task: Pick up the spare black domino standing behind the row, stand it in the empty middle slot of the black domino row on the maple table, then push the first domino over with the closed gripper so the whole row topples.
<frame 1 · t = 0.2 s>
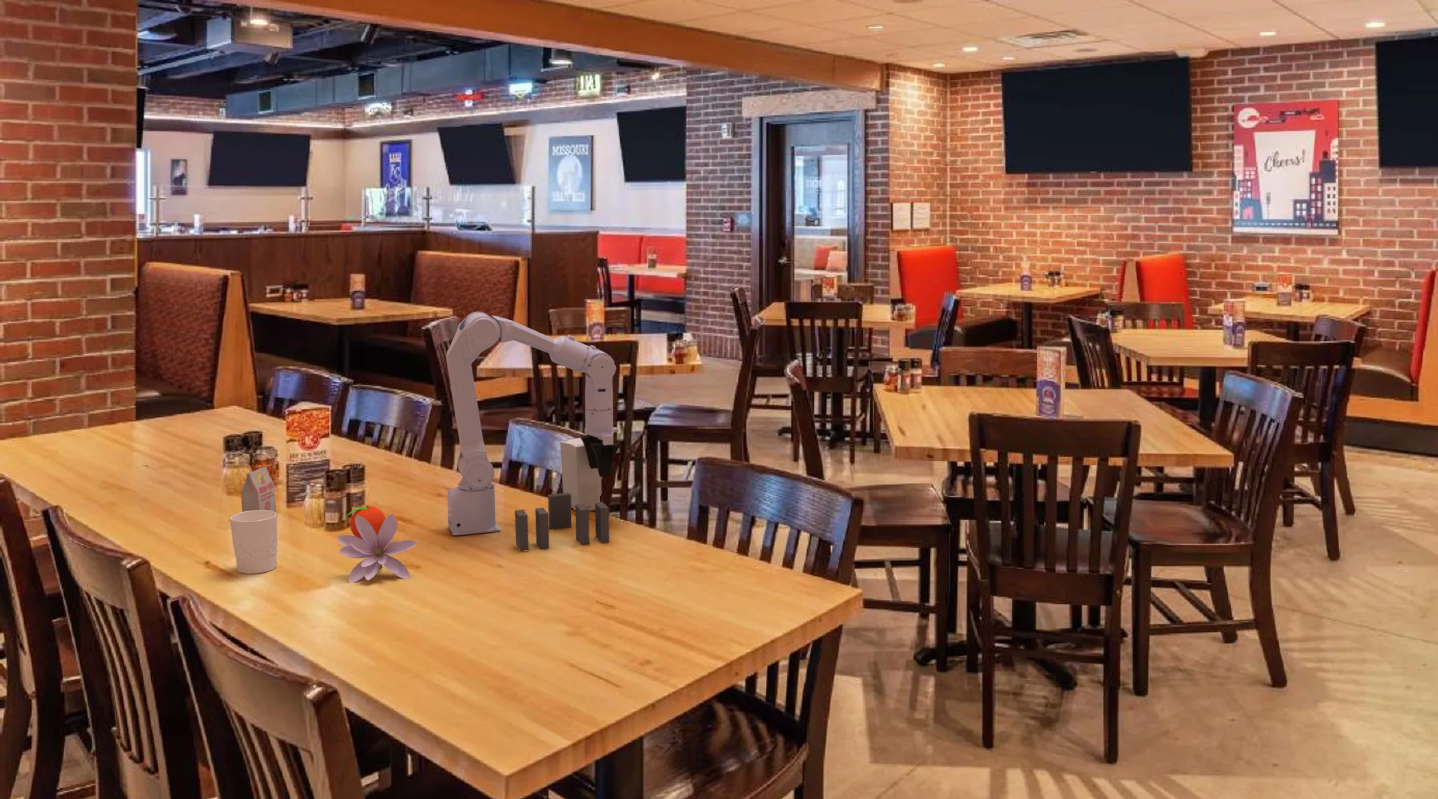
hand: (599, 472, 246), 10 cm above the table, tool pointing down, fingers open, 7 cm apart
tile 2: (542, 545, 229), on the table
tile 4: (582, 541, 232), on the table
tile 1: (522, 547, 228), on the table
tile 5: (602, 539, 233), on the table
water lily: (375, 577, 211), on the table
white cup: (257, 569, 215), on the table
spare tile: (560, 527, 241), on the table
skincare box: (581, 508, 257), on the table
tomato: (366, 542, 232), on the table
milk carton: (259, 516, 250), on the table
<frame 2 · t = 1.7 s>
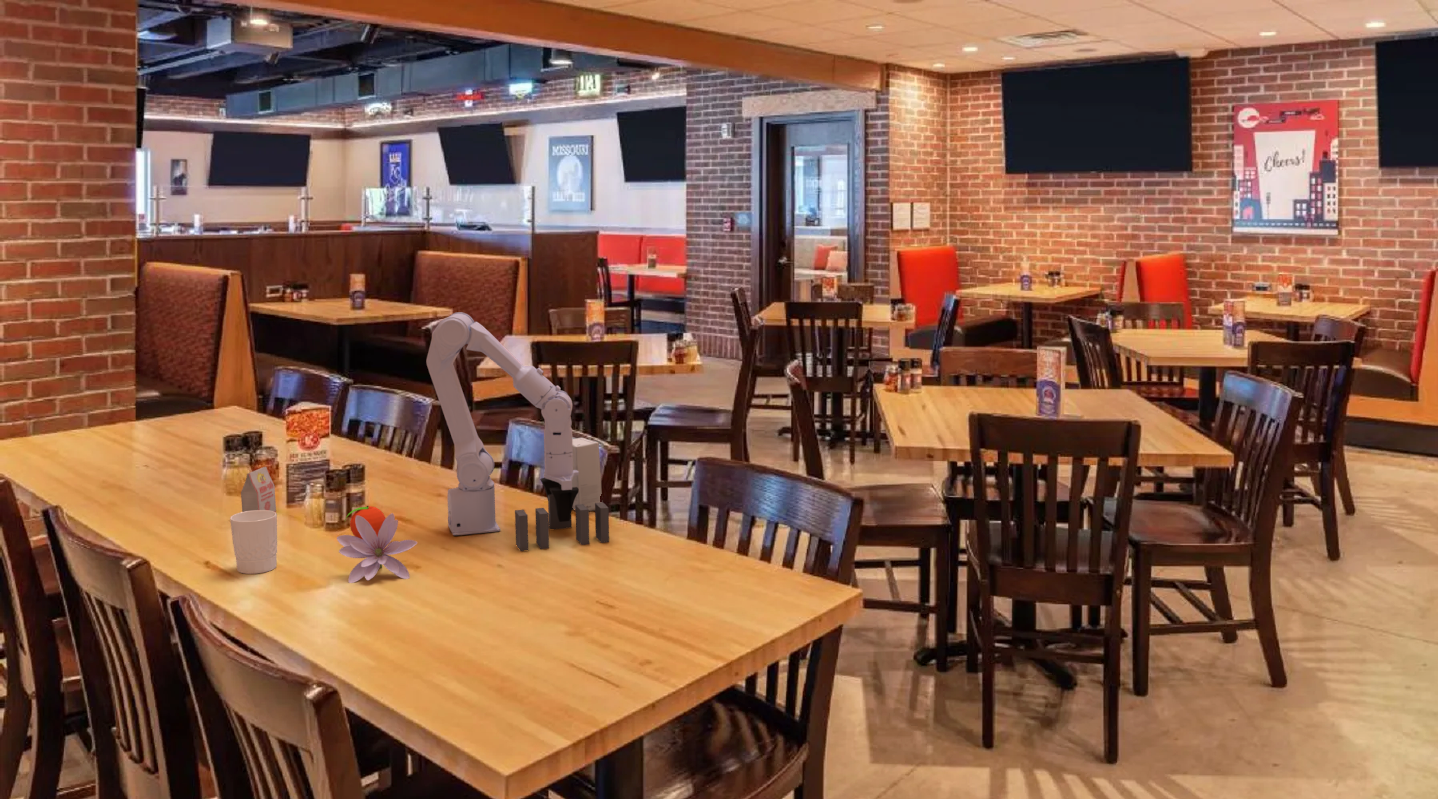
hand: (559, 516, 241), 2 cm above the table, tool pointing down, fingers open, 7 cm apart
nothing on the table moved.
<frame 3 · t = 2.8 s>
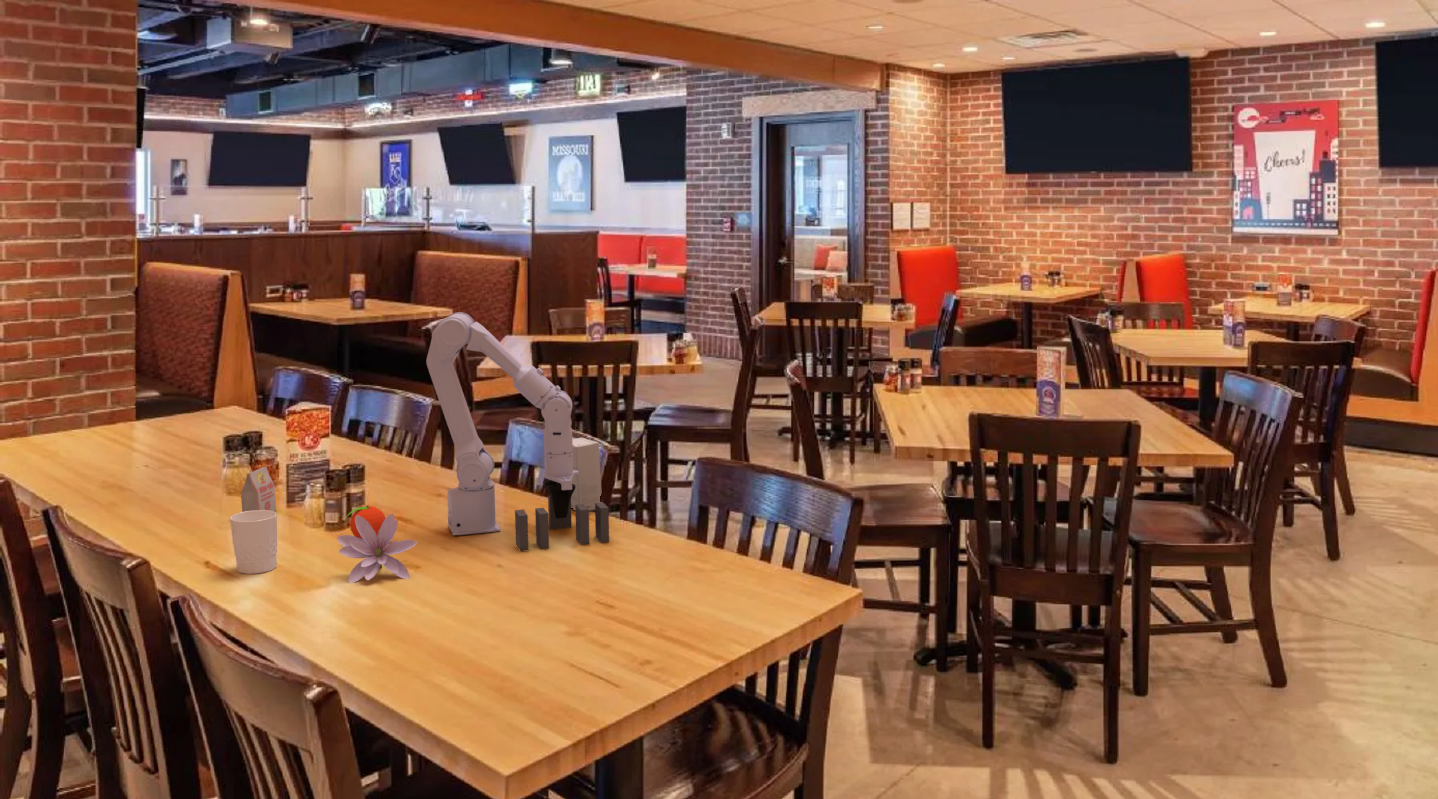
hand: (559, 516, 241), 2 cm above the table, tool pointing down, fingers closed on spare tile, 2 cm apart
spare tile: (560, 527, 241), on the table, touching gripper
everything else where it was.
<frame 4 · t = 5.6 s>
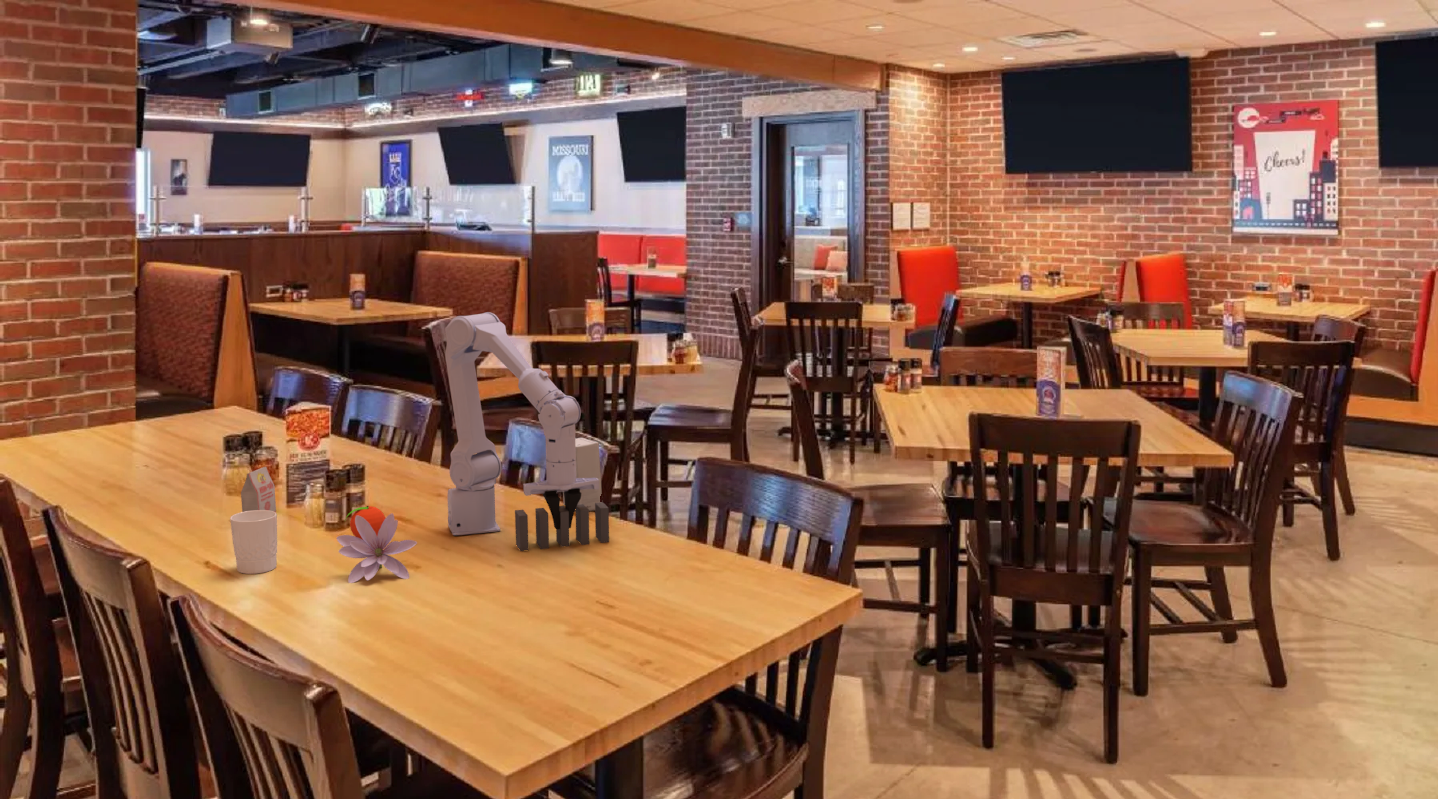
hand: (562, 527, 230), 3 cm above the table, tool pointing down, fingers closed on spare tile, 2 cm apart
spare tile: (562, 543, 230), on the table, touching gripper
everything else where it was.
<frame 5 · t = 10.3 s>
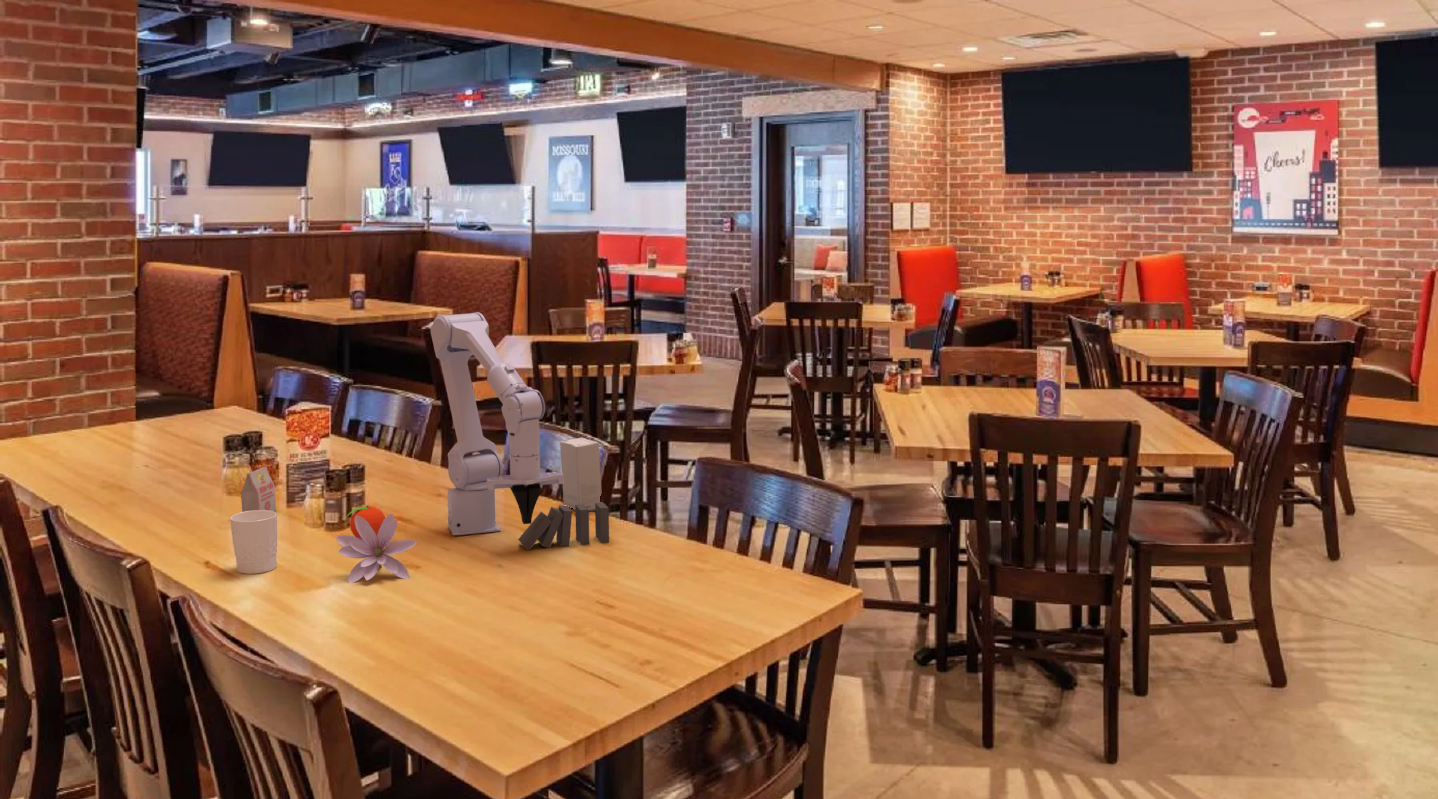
hand: (526, 522, 227), 5 cm above the table, tool pointing down, fingers closed
tile 2: (543, 543, 229), on the table, tilted 25°
tile 1: (523, 544, 228), point 1 cm above the table, tilted 42°
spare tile: (562, 543, 230), on the table, tilted 6°
everything else where it was.
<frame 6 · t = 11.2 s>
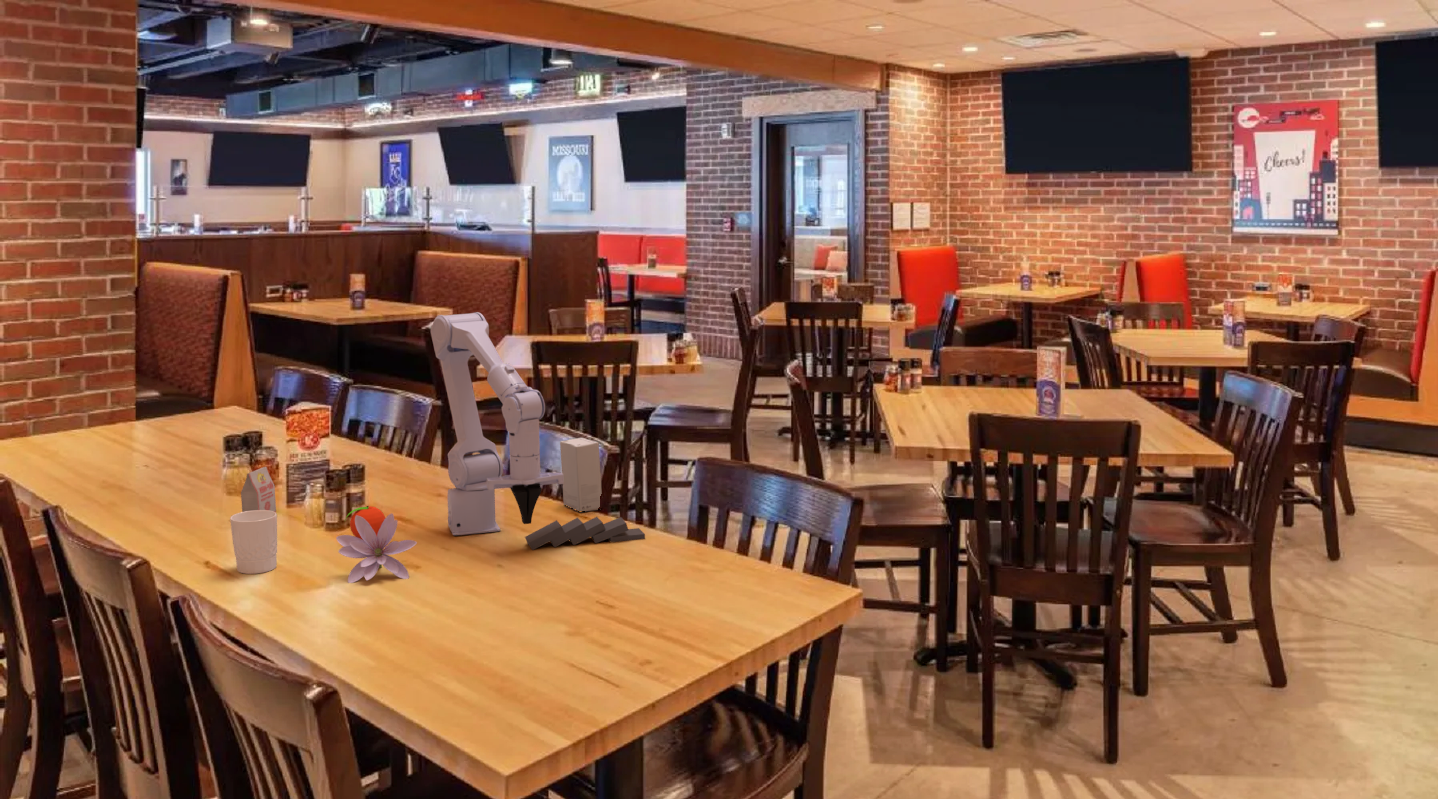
hand: (526, 522, 227), 5 cm above the table, tool pointing down, fingers closed
tile 2: (550, 540, 229), point 1 cm above the table, tilted 66°, touching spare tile, tile 1
tile 4: (591, 536, 232), point 1 cm above the table, tilted 72°, touching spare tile, tile 5
tile 1: (528, 543, 228), point 1 cm above the table, tilted 67°, touching tile 2
tile 5: (607, 538, 233), on the table, tilted 90°, touching tile 4
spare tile: (569, 538, 231), point 1 cm above the table, tilted 68°, touching tile 2, tile 4
everything else where it was.
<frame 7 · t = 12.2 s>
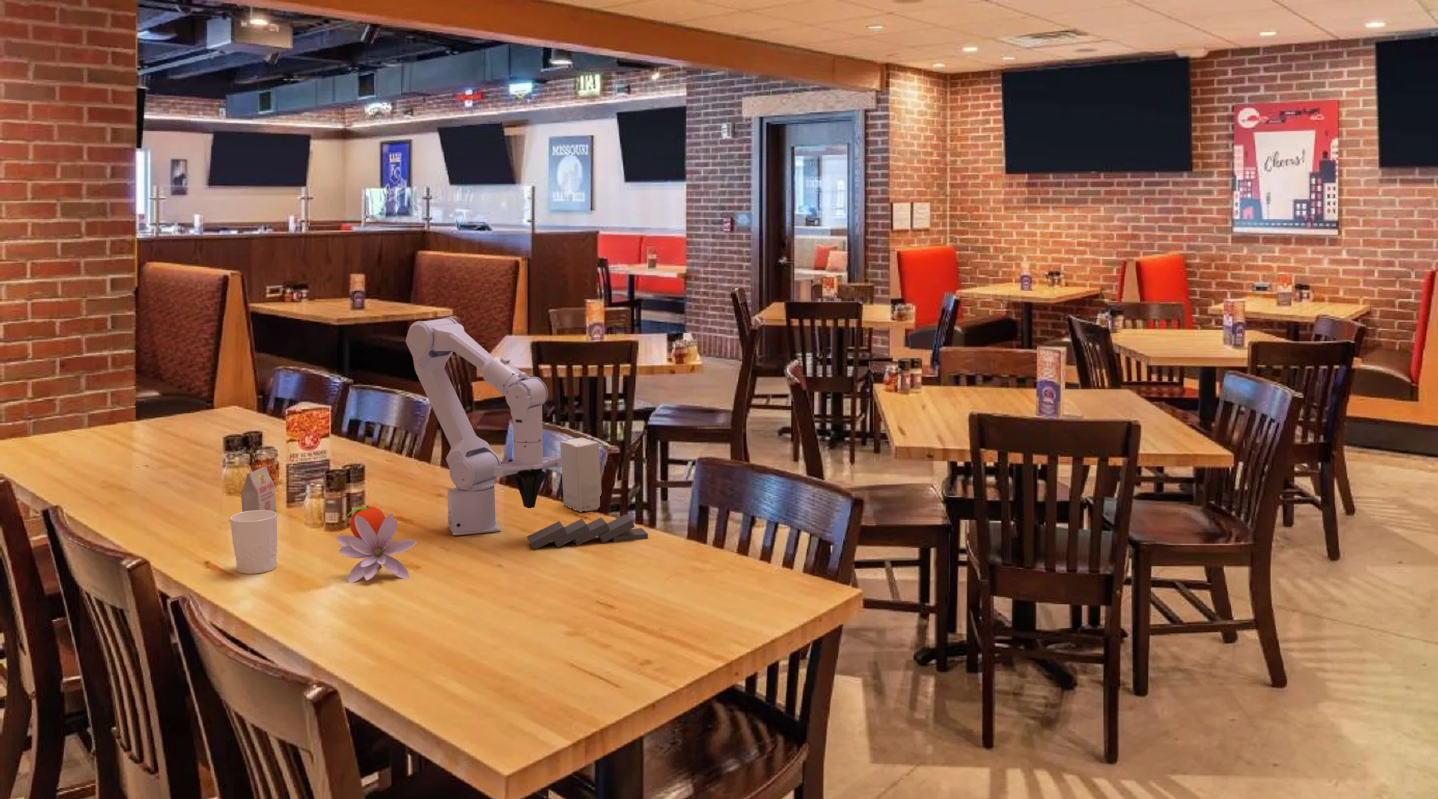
hand: (529, 506, 233), 6 cm above the table, tool pointing down, fingers closed
tile 2: (553, 541, 229), point 1 cm above the table, tilted 68°, touching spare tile, tile 1
tile 4: (598, 536, 232), point 1 cm above the table, tilted 68°, touching tile 5
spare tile: (573, 539, 231), point 1 cm above the table, tilted 69°, touching tile 2
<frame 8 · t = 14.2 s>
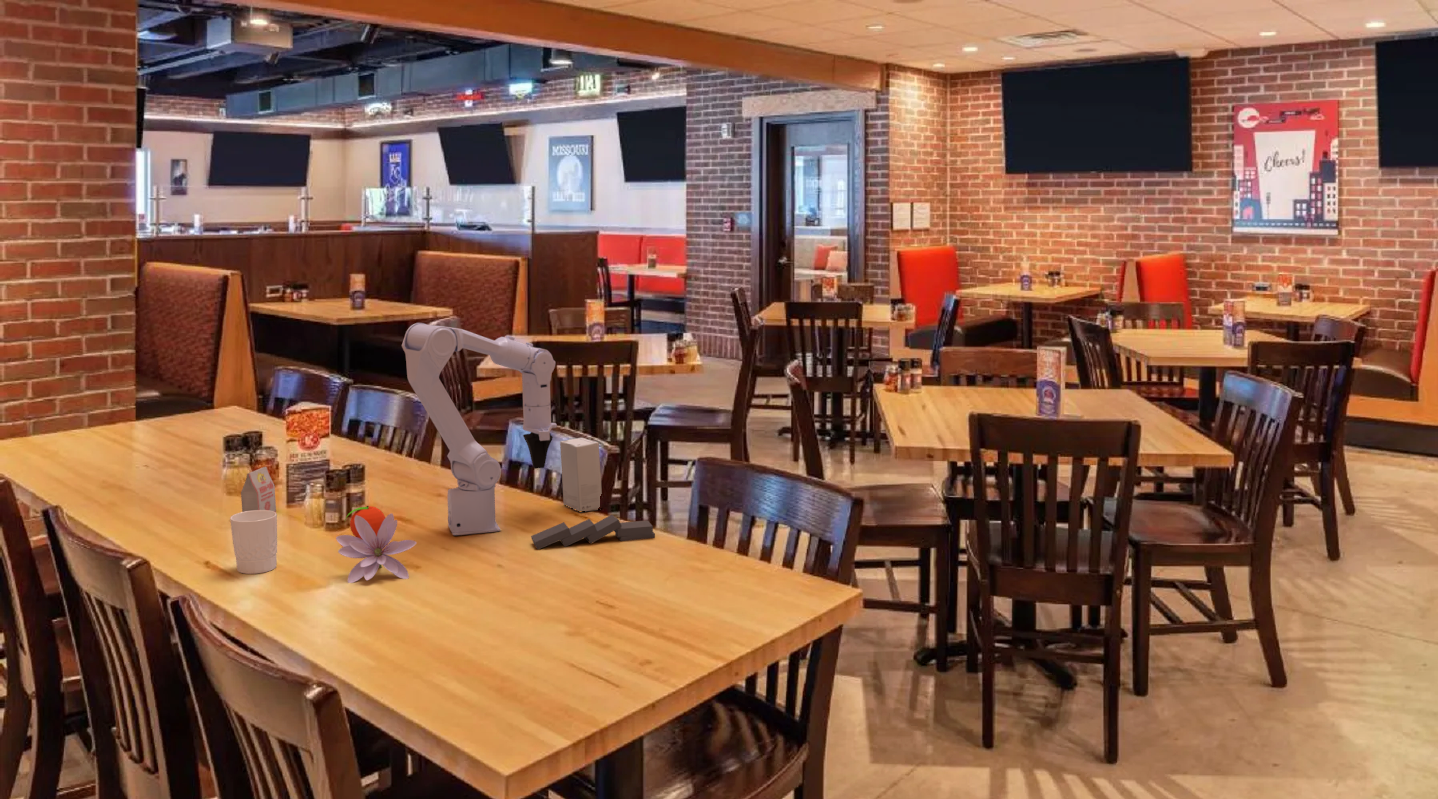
hand: (538, 467, 249), 10 cm above the table, tool pointing down, fingers closed
tile 2: (560, 540, 230), point 1 cm above the table, tilted 69°, touching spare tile, tile 1
tile 4: (615, 529, 234), point 2 cm above the table, tilted 90°, touching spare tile, tile 5
tile 5: (618, 537, 234), on the table, tilted 90°, touching tile 4
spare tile: (585, 537, 232), point 1 cm above the table, tilted 67°, touching tile 2, tile 4
at the end: tile 5 tilted 90°; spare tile tilted 68°; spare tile inside the target area (4.3 cm from its centre), point 0.8 cm above the table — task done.
